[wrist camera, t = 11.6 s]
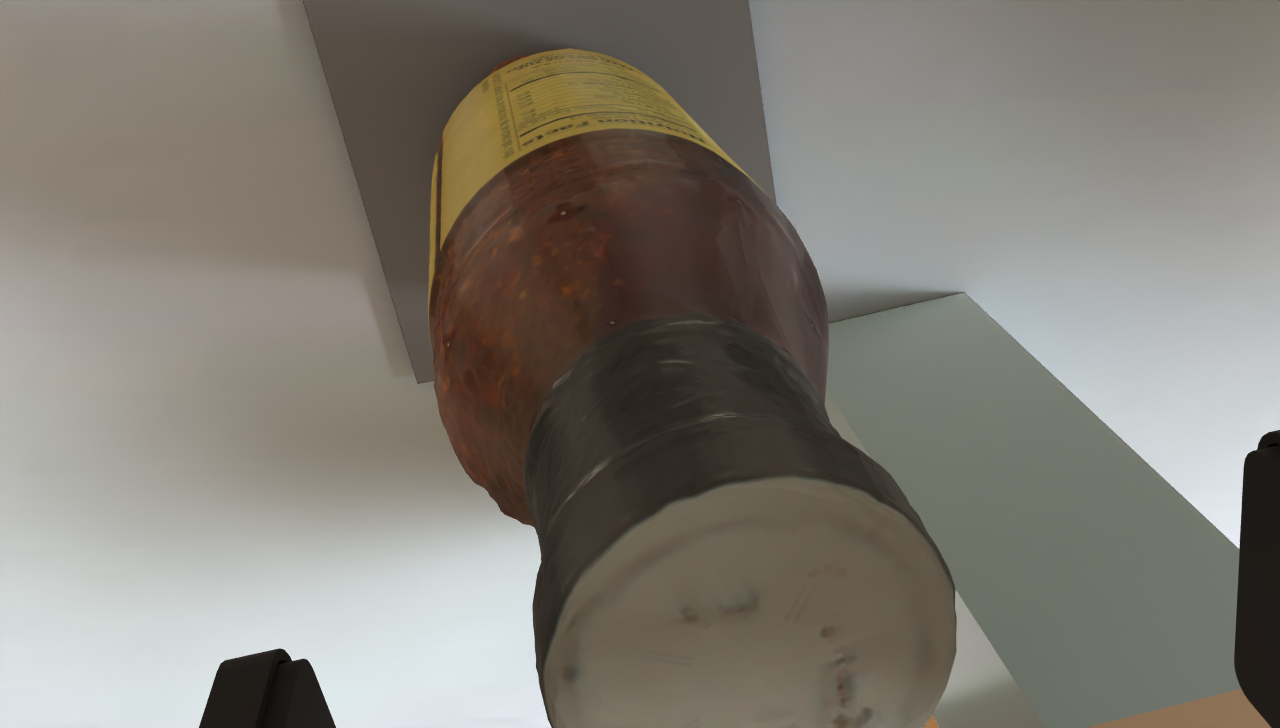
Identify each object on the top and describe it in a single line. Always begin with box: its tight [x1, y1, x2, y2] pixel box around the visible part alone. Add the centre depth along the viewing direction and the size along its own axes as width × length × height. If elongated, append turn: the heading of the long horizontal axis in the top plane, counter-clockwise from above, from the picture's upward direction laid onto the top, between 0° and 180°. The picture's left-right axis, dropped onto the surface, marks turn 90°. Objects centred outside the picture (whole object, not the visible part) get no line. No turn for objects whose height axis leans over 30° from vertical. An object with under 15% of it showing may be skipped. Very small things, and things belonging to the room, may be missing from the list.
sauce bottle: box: [428, 48, 957, 728], centre depth 20 cm, size 7×6×20 cm
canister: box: [825, 292, 1271, 728], centre depth 26 cm, size 5×5×17 cm
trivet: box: [303, 0, 776, 384], centre depth 29 cm, size 10×10×1 cm
